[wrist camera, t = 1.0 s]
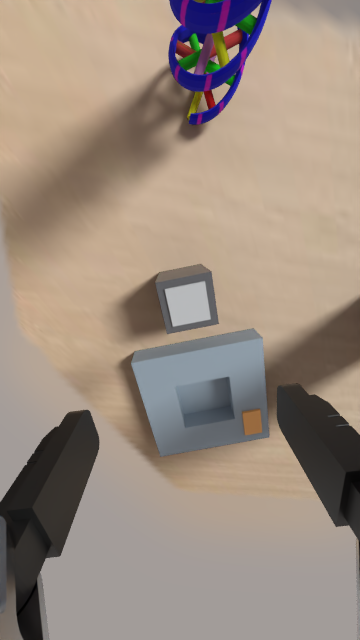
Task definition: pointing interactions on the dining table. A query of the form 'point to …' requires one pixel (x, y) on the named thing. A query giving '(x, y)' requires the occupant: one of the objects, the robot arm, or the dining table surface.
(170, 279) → the plug
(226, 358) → the socket plate
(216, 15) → the dna model
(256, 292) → the dining table surface
